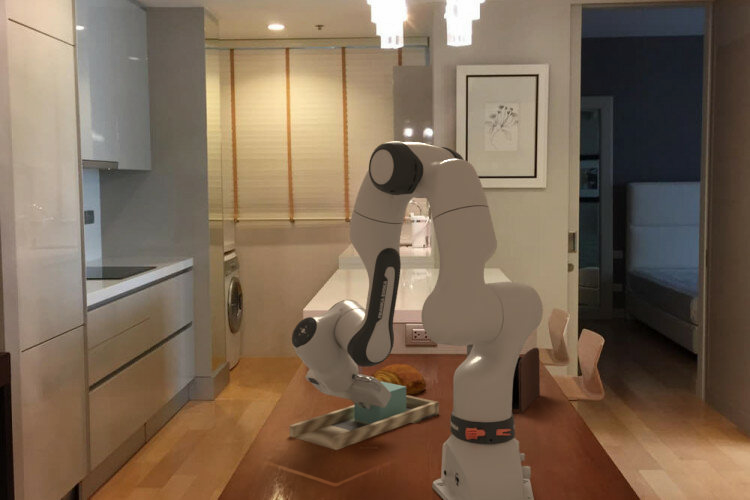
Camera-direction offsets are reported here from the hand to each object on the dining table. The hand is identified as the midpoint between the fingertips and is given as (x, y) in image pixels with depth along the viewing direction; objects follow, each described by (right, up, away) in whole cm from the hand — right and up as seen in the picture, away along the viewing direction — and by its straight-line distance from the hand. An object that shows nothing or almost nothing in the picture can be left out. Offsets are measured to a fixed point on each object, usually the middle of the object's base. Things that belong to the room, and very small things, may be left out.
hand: (366, 405), depth 195 cm
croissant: (+9, -2, +34) cm, 35 cm away
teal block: (+3, -4, +5) cm, 7 cm away
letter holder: (+38, -3, +22) cm, 44 cm away
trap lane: (0, -5, +1) cm, 5 cm away
